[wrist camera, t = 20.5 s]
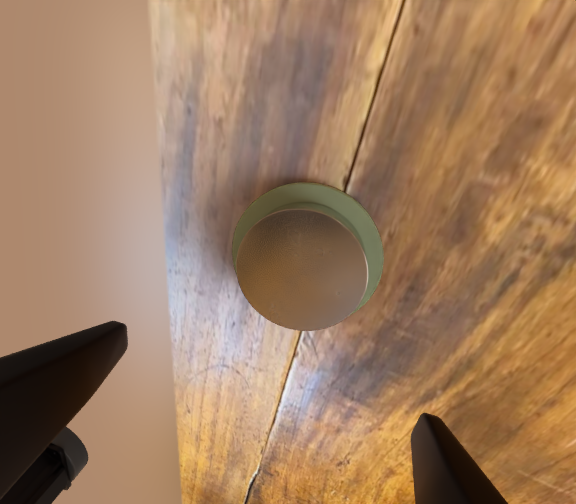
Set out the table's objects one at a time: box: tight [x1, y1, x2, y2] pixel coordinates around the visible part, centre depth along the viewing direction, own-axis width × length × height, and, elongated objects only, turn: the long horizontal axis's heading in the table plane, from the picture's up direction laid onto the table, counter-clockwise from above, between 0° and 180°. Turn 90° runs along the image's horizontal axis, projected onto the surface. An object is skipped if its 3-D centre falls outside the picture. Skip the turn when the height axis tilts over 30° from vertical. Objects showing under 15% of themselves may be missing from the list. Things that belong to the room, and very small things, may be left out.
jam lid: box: [236, 202, 368, 331], centre depth 16 cm, size 7×7×2 cm
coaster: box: [232, 182, 384, 316], centre depth 17 cm, size 9×9×1 cm
